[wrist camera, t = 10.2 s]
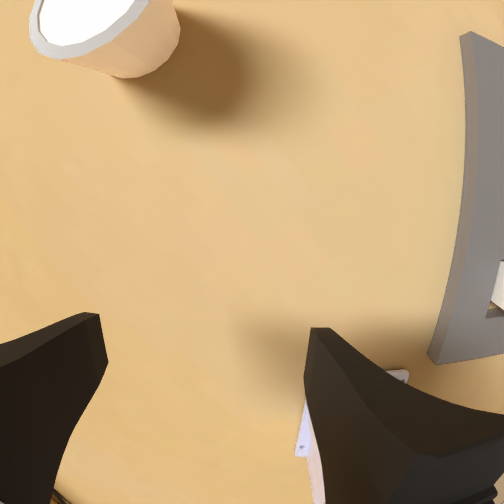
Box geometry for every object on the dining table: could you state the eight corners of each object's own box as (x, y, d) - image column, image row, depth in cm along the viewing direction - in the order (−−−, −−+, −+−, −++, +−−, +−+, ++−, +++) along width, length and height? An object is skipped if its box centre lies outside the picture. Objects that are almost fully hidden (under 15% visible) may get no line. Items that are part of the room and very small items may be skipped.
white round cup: (165, -21, 14) (132, -80, 7) (210, 50, 16) (186, -5, 9) (77, 34, 15) (17, 0, 8) (111, 109, 17) (46, 90, 10)
